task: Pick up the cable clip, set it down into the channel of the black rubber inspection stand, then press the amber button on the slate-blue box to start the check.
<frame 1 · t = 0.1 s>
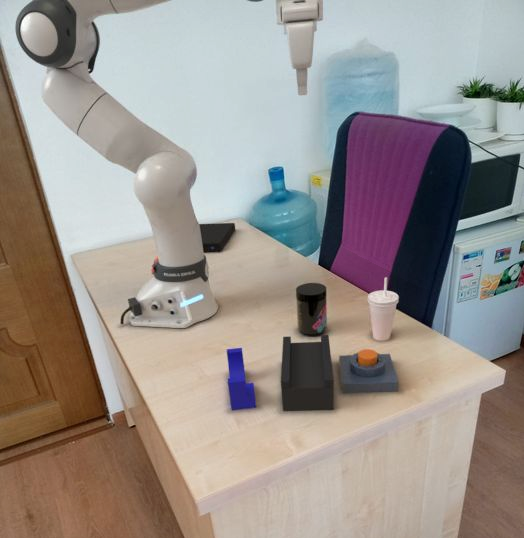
hand: (302, 93, 102), 48 cm above the table, tool pointing down, fingers open, 8 cm apart
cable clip: (242, 391, 96), on the table
start button: (367, 357, 94), point 4 cm above the table, slide at 0.1 cm
supplement container: (312, 331, 115), on the table
inspection stand: (307, 385, 96), on the table
smoothie: (381, 337, 110), on the table
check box: (366, 377, 97), on the table
external hard drive: (209, 241, 178), on the table
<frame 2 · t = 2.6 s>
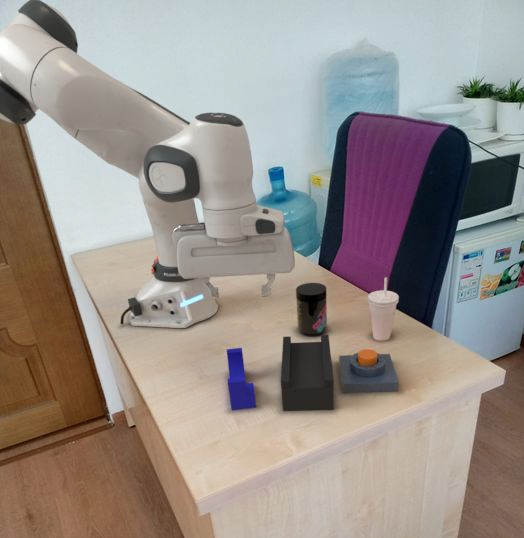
hand: (240, 297, 90), 18 cm above the table, tool pointing down, fingers open, 8 cm apart
nothing on the table moved.
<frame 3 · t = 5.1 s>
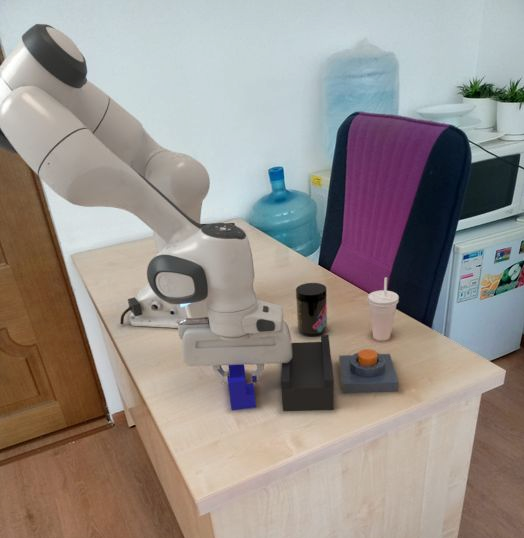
hand: (241, 381, 95), 2 cm above the table, tool pointing down, fingers closed on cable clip, 4 cm apart
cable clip: (242, 391, 96), on the table, touching gripper
everything else where it was.
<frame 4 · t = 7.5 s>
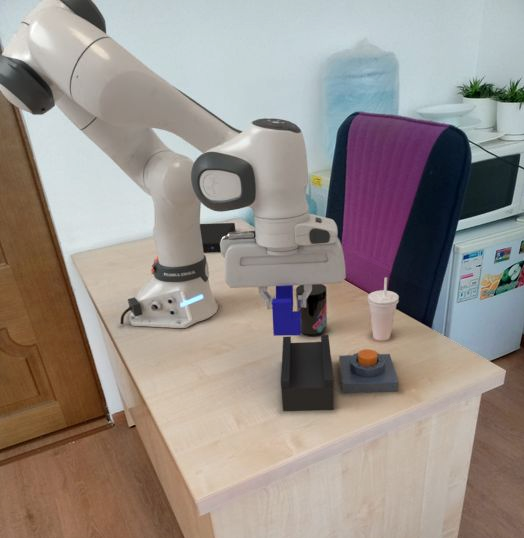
hand: (286, 307, 87), 17 cm above the table, tool pointing down, fingers closed on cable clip, 4 cm apart
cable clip: (288, 320, 88), point 15 cm above the table, touching gripper
everything else where it was.
when the fingers open (7 cm above the table, at t = 10.3 s): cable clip stays where it is, resting on inspection stand.
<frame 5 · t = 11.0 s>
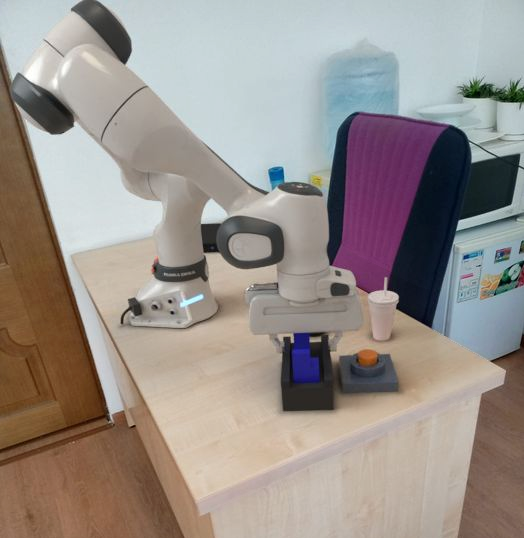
hand: (306, 351, 92), 8 cm above the table, tool pointing down, fingers open, 8 cm apart
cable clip: (306, 365, 93), point 5 cm above the table, touching inspection stand
everything else where it was.
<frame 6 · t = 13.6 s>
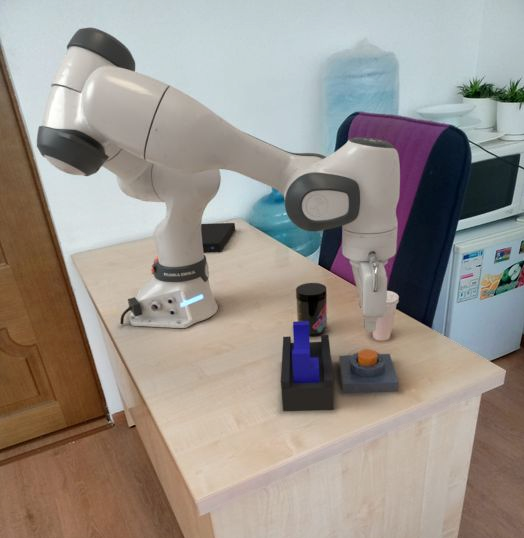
hand: (366, 317, 90), 13 cm above the table, tool pointing down, fingers open, 8 cm apart
nothing on the table moved.
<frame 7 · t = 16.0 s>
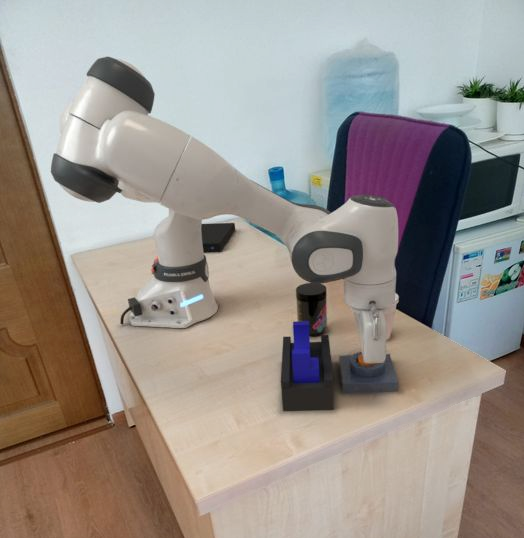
hand: (367, 358, 94), 5 cm above the table, tool pointing down, fingers closed, pressing on start button
start button: (367, 361, 95), point 4 cm above the table, slide at -0.8 cm, touching gripper
everything else where it was.
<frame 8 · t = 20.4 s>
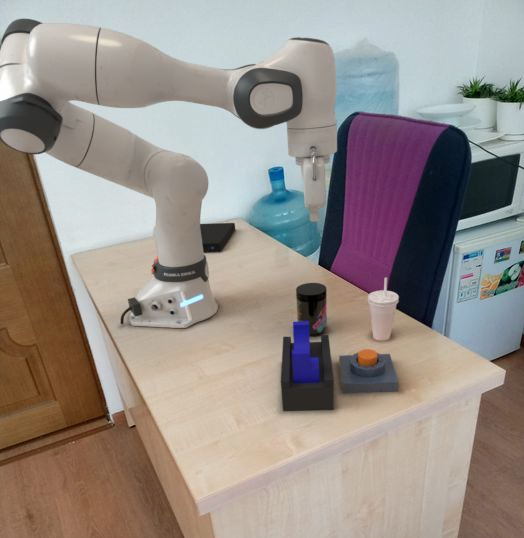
hand: (314, 219, 97), 27 cm above the table, tool pointing down, fingers closed
start button: (367, 357, 94), point 4 cm above the table, slide at 0.1 cm
everything else where it was.
at the end: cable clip 0.5 cm off-centre on the inspection stand, point 4.8 cm above the inspection stand's base; start button pushed in 1.1 cm at the most during the clip, back to where it started at the end; start button slide at 0.1 cm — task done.
